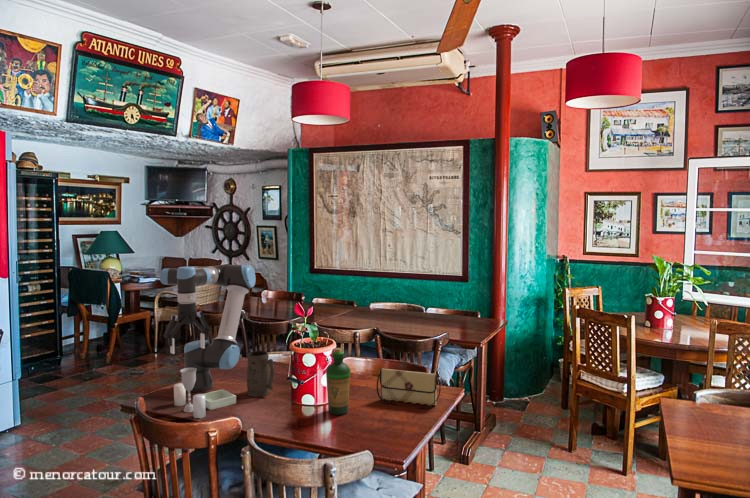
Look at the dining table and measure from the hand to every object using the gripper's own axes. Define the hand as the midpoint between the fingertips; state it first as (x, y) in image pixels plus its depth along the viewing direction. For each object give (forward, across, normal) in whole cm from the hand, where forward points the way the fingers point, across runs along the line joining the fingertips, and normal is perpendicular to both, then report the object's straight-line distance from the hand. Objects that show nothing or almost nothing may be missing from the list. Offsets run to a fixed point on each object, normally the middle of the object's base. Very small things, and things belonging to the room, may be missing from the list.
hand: (187, 350), depth 239 cm
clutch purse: (+27, +76, -60) cm, 101 cm away
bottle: (+27, +47, -46) cm, 71 cm away
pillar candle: (+27, 0, -10) cm, 28 cm away
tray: (+27, +13, 0) cm, 30 cm away
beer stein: (+27, +35, -3) cm, 44 cm away
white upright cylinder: (+27, 0, +10) cm, 28 cm away
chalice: (+27, 0, 0) cm, 27 cm away
